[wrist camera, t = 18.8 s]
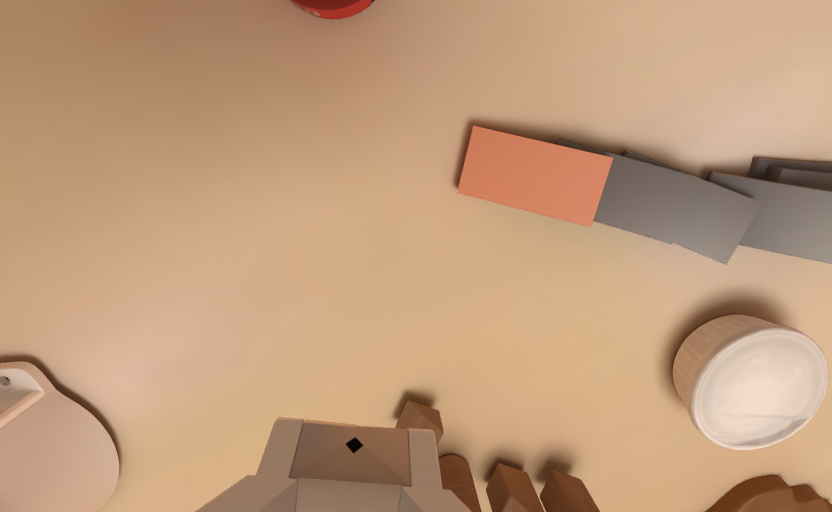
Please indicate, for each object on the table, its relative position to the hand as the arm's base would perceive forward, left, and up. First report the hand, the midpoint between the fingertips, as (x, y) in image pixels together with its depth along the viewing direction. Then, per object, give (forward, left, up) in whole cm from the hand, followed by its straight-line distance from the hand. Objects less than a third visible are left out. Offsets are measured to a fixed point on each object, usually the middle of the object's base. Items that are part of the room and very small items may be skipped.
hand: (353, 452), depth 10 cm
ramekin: (+32, -12, -31) cm, 46 cm away
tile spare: (+6, +3, -30) cm, 31 cm away
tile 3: (+25, +2, -30) cm, 40 cm away
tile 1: (+13, +3, -30) cm, 33 cm away
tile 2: (+18, +3, -30) cm, 35 cm away
